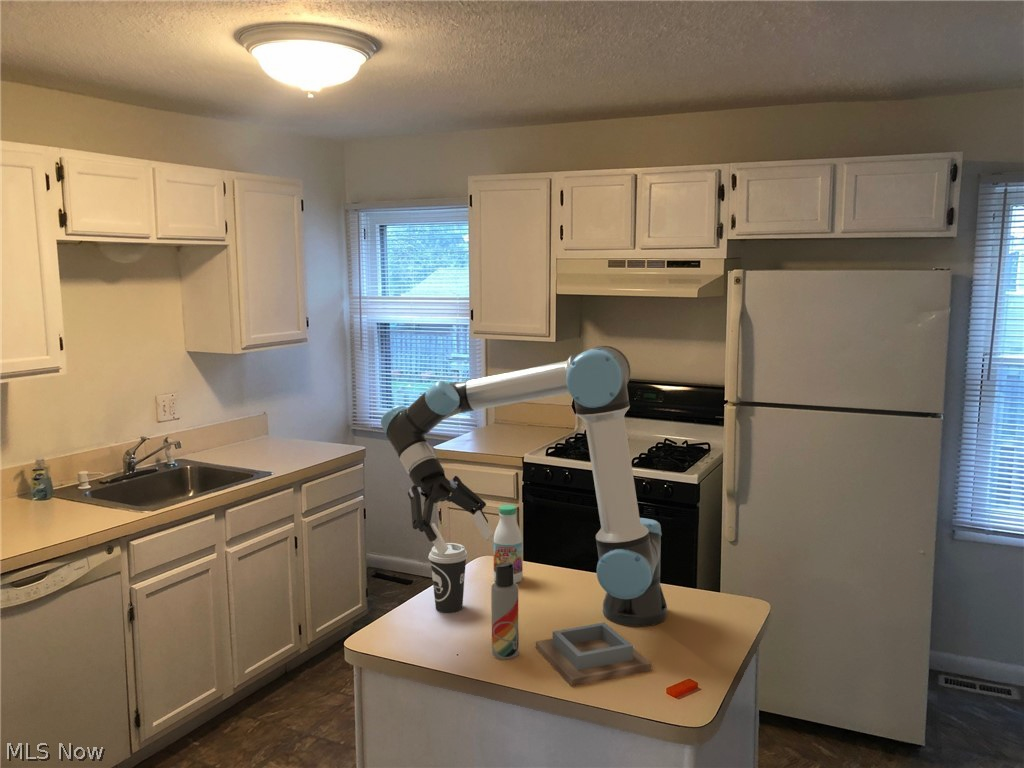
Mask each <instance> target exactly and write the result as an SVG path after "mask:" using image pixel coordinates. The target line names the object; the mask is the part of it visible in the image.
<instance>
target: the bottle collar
mask: <svg viewBox="0 0 1024 768" xmlns="http://www.w3.org/2000/svg"><path fill="white" fill-rule="evenodd" d="M552 639H553V646H554V647H555V648H556V649H557V650H558V651H559V652H560V653H561V654H562V655H563V656H564V657H565V658H566V659H567V660H568V661H569V662H570V663H571V664H572V665H573V666H574V667H575V668H576V669H577V670H578V671H579V670H584V669H589V668H594V667H599V666H604V665H609V664H614V663H619V662H624V661H629V660H633V648H634V645H633V644H631V642H629V641H628V640H627V639H625V638H624V637H623V636H621V635H620V634H619V633H618V632H617V631H616V630H614V629H613V628H612V627H611V626H610V625H609V624H607V623H606V622H599V623H594V624H593V623H592V624H588V625H587V624H586V625H581V626H577V627H570V628H565V629H558V630H552ZM597 639H603V640H604V641H606V642H607V643H608V644H609V645H610V646H611V647H609V648H603V649H598V650H593V651H587V652H582V653H581V652H580V651H579V650H578V649H577V648H576V647H575V646H573V645H572V644H575V643H580V642H586V641H591V640H597Z"/></svg>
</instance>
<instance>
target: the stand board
mask: <svg viewBox="0 0 1024 768" xmlns="http://www.w3.org/2000/svg"><path fill="white" fill-rule="evenodd" d="M572 645H573V646H575V647H576V648H577V649H578V650H579V651H580V652H581V653H582V652H587V651H593V650H598V649H603V648H609V647H611V646H610V645H609V644H608V643H607V642H606V641H604V640H603V639H597V640H591V641H586V642H580V643H575V644H572ZM535 650H537V651H538V652H539V654H540V655H541V657H543V658H544V659H545V660H546V661H547V663H549V664H550V666H552V667H553V668H554V670H555V671H556V672H557V673H558V674H559V675H560V676H561V677H562V678H563V679H564V680H565V681H566V683H568V685H569V686H570V687H571V688H573V687H577V686H582V685H587V684H592V683H597V682H601V681H607V680H611V679H616V678H621V677H622V678H623V677H625V676H630V675H635V674H641V673H645V672H650V671H653V670H652V669H653V668H652V667H653V664H652V662H651V661H649V660H648V659H647V657H645V656H643V655H642V654H641V653H640V652H638V650H636V648H634V647H633V660H629V661H624V662H619V663H614V664H609V665H604V666H599V667H594V668H589V669H584V670H579V671H578V670H577V669H576V668H575V667H574V666H573V665H572V664H571V663H570V662H569V661H568V660H567V659H566V658H565V657H564V656H563V655H562V654H561V653H560V652H559V651H558V650H557V649H556V648H555V647H554V646H553V638H548V639H543V640H537V641H535Z"/></svg>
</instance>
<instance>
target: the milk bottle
mask: <svg viewBox="0 0 1024 768" xmlns="http://www.w3.org/2000/svg"><path fill="white" fill-rule="evenodd" d="M498 516H499V521H498V523H497V526H496V528H495V531H494V535H493V580H494V581H495V582H496V565H497V564H500V563H502V562H511V563H512V564H513V565H514V583H516V584H519V583H521V582H522V580H523V578H524V577H523V573H524V571H523V570H524V567H523V563H524V561H523V560H524V558H523V553H524V552H523V534H522V531H521V529H520V526H519V524H518V521H517V517H516V516H517V506H516V505H513V504H505V505H504V504H502V505H500V506H499V507H498Z"/></svg>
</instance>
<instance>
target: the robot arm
mask: <svg viewBox="0 0 1024 768" xmlns="http://www.w3.org/2000/svg"><path fill="white" fill-rule="evenodd" d="M631 372H632V371H631V365H630V362H629V360H628V358H627V356H626V355H625V354H624V353H623V351H621V350H620V349H618V348H617V347H614V346H611V345H601V346H600V345H598V346H596V347H594V348H591V349H588V350H584V351H583V352H580V353H578V354H572V355H569V357H568V359H567V360H565V361H559V362H558V361H557V362H553V363H549V364H548V363H547V364H543V365H539V366H534V367H530V368H529V367H528V368H525V369H524V368H523V369H519V370H515V371H514V370H513V371H509V372H504V373H499V374H494V375H489V376H484V377H479V378H474V379H473V378H472V379H469V380H463V381H454V382H453V381H452V382H451V383H450V382H445V381H444V380H438V381H436V382H434V384H433V385H431V386H429V387H428V388H427V389H426V391H424V392H423V393H422V394H421V395H420V396H419V397H418V398H417V399H416V400H414V402H412V404H411V405H409V406H408V407H407V406H406V405H397V406H394V407H392V408H391V409H390V410H387V411H386V412H384V414H383V415H382V417H381V419H380V425H381V427H382V430H383V431H384V434H385V437H386V438H387V440H388V441H389V443H390V444H391V446H392V448H393V449H394V451H395V453H396V454H397V456H398V458H399V461H400V462H401V463H402V466H403V467H404V470H405V471H406V473H407V474H409V478H410V480H411V482H412V483H413V485H412V486H411V488H410V489H409V490H408V491H407V496H408V497H409V499H410V511H411V522H412V523H411V524H412V525H411V526H412V528H413V530H418V531H419V532H420V533H423V532H424V534H425V535H426V538H427V539H428V541H429V542H432V545H434V546H435V548H436V549H437V551H438V553H439V555H440V556H441V555H443V554H444V553H445V552H446V551H447V550H448V549H449V548H448V546H447V545H446V543H447V542H446V541H445V540H444V538H443V536H442V534H441V532H440V531H439V529H438V527H437V525H436V523H435V522H433V523H431V521H432V514H433V510H434V504H438V503H439V502H448V503H453V504H455V505H456V506H458V507H460V508H461V509H463V510H464V511H466V512H468V513H470V514H471V515H472V516H471V519H472V521H473V522H474V524H475V526H476V527H477V529H478V531H479V533H480V534H481V536H482V537H483V540H484V541H485V542H487V541H489V540H490V539H491V538H492V537H494V534H495V532H493V530H492V528H491V527H490V525H489V521H488V518H487V517H486V515H485V513H484V512H483V509H484V508H485V507H486V506H487V503H486V502H485V501H484V500H483V499H482V498H481V497H480V496H478V495H477V493H475V492H473V490H471V489H470V488H469V487H468V486H467V485H466V484H464V483H463V482H462V481H461V479H460V477H458V476H457V475H454V477H453V478H451V479H448V478H447V477H446V475H445V469H444V468H443V466H442V464H441V463H440V461H439V459H437V456H436V453H435V452H434V451H433V449H432V447H431V446H430V444H429V442H428V441H427V438H426V435H427V434H429V433H430V432H431V431H432V429H434V428H435V427H436V426H438V424H440V423H441V422H443V421H445V420H446V419H449V418H451V417H453V416H455V415H458V414H463V413H468V412H474V411H478V410H483V409H488V408H489V409H490V408H494V407H500V406H506V405H512V404H516V403H522V402H523V403H524V402H528V401H533V400H538V399H545V398H551V397H556V396H561V395H565V394H566V395H567V394H570V396H571V397H572V399H573V401H574V407H575V412H576V416H577V417H579V418H580V420H581V419H582V420H583V422H584V426H585V432H586V438H587V445H588V452H589V459H590V463H591V465H590V466H591V471H592V477H593V482H594V489H595V496H596V497H595V498H596V504H597V509H598V510H597V511H598V516H599V521H600V529H599V530H598V532H597V533H596V534H595V541H596V547H597V555H598V561H597V565H596V577H597V581H598V583H599V585H600V587H601V588H602V589H603V590H604V591H605V592H606V593H605V595H604V599H603V602H602V614H603V616H604V617H605V618H606V619H608V620H609V621H611V622H613V623H616V624H619V625H623V626H631V627H648V626H655V625H658V624H660V623H662V622H664V621H665V620H666V618H667V617H668V605H667V602H666V601H667V600H666V599H665V595H664V592H663V589H662V585H661V546H662V545H661V544H662V541H661V537H662V535H663V533H662V528H661V526H662V525H661V524H660V522H658V521H657V520H655V519H650V518H645V517H640V511H639V505H638V499H637V493H636V492H637V491H636V484H635V479H634V472H633V464H632V460H631V452H630V447H629V446H630V445H629V440H628V439H629V438H628V433H627V432H628V431H627V426H626V420H625V414H626V413H627V411H629V409H630V407H631V405H630V400H629V392H628V383H629V381H630V379H631V374H632V373H631ZM421 496H422V497H423V498H424V502H423V510H422V500H421V498H422V497H421ZM422 511H423V512H422Z"/></svg>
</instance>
